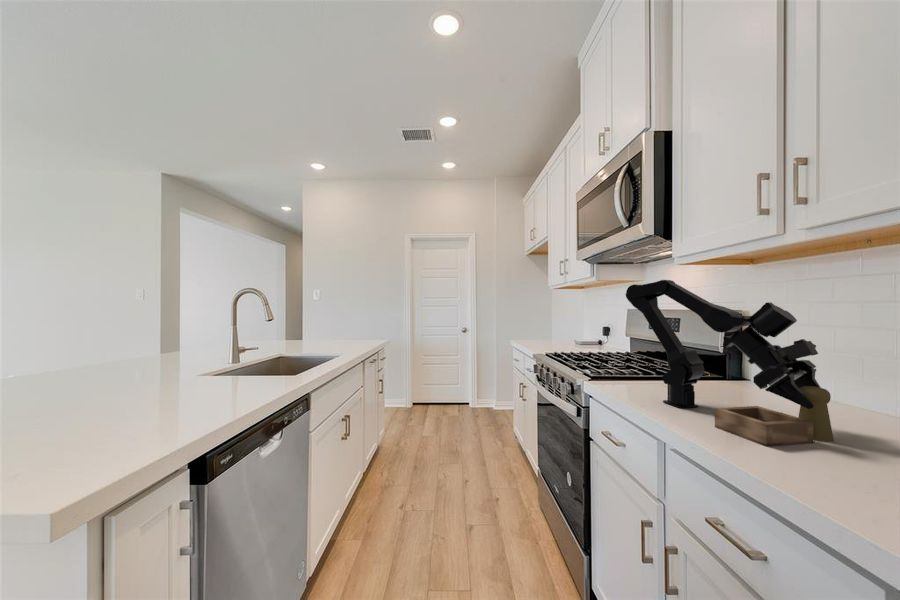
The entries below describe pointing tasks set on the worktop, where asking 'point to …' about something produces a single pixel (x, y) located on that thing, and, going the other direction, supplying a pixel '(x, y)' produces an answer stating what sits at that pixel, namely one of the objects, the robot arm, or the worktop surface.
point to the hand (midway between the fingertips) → (820, 405)
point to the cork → (818, 412)
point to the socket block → (764, 425)
